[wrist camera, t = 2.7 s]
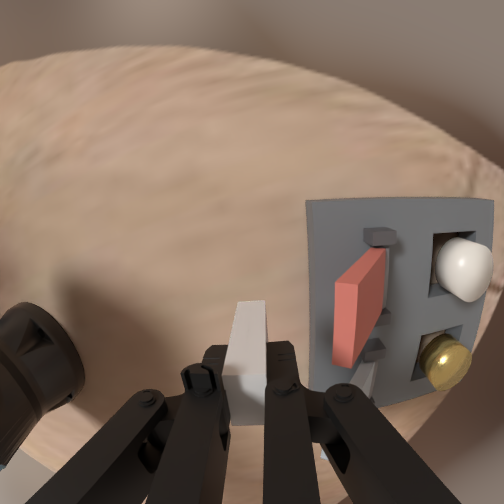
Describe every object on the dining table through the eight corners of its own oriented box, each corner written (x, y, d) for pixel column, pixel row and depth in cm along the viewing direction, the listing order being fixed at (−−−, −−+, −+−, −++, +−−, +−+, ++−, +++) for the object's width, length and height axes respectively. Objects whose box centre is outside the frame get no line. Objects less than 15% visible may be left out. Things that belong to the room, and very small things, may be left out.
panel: (307, 402, 28) (314, 433, 23) (305, 200, 23) (317, 203, 18) (450, 369, 27) (468, 389, 22) (476, 198, 22) (506, 202, 17)
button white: (432, 292, 21) (452, 306, 18) (436, 238, 20) (460, 247, 17) (467, 285, 21) (488, 297, 18) (472, 236, 20) (496, 243, 16)
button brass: (414, 377, 23) (428, 396, 20) (424, 338, 22) (441, 356, 19) (448, 366, 23) (463, 383, 20) (459, 329, 22) (477, 344, 19)
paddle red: (369, 301, 22) (328, 363, 14) (371, 243, 20) (331, 281, 13) (387, 303, 21) (354, 369, 13) (390, 244, 20) (361, 285, 12)
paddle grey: (358, 389, 24) (318, 457, 17) (364, 350, 23) (323, 419, 15) (373, 393, 23) (336, 462, 16) (380, 353, 22) (345, 425, 14)
